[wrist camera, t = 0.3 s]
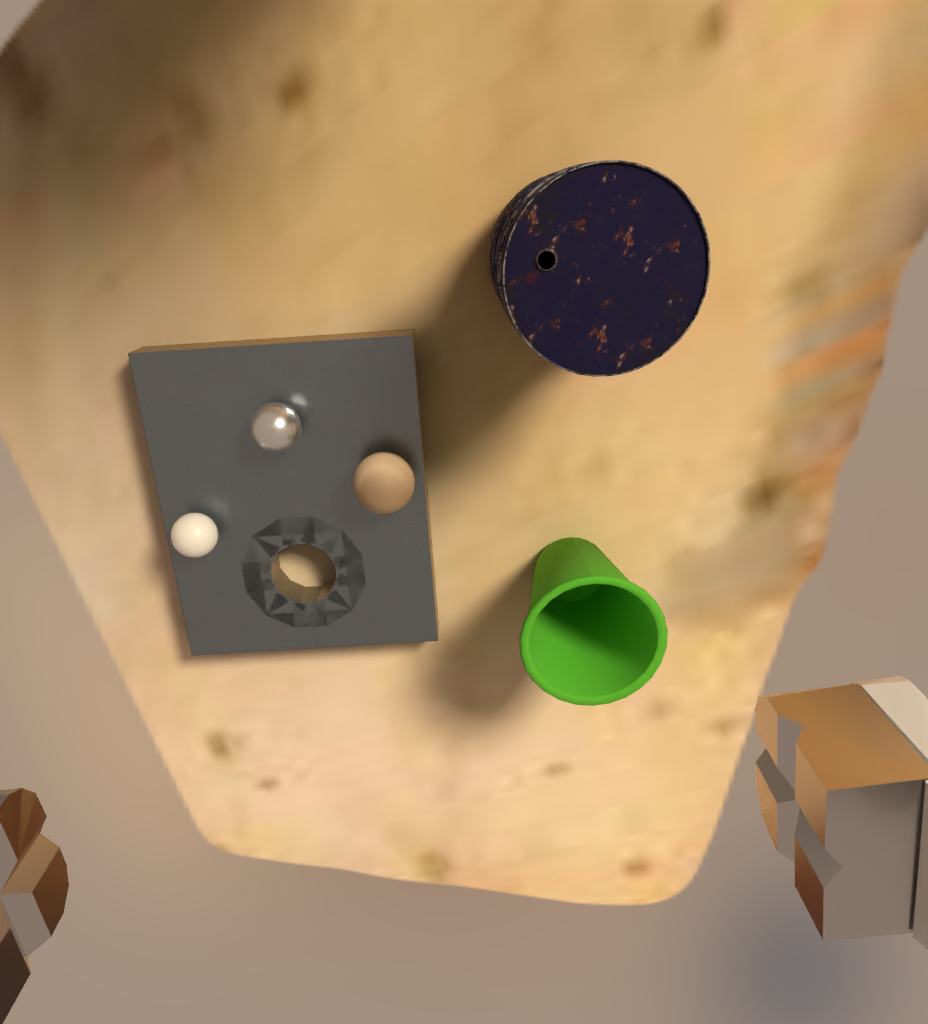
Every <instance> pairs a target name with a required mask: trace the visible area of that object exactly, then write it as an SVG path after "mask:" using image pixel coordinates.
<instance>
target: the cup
mask: <svg viewBox="0 0 928 1024" xmlns="http://www.w3.org/2000/svg"><path fill="white" fill-rule="evenodd" d="M667 632H668V631H667V627H666V622H665V618H664V615H663V613H662V611H661V609H660V608H659V606H658V604H657V602H656V601H655V600H654V599H653V598H652V597H651V596H650V595H649V594H648V593H647V592H646V591H645V590H644V589H642V588H640V587H639V586H637V585H635V584H634V583H632V582H630V581H629V580H628V579H627V578H626V577H625V576H624V575H623V574H622V573H621V572H620V571H619V570H618V568H617V567H616V566H615V565H614V564H613V563H612V562H611V561H610V560H609V559H608V558H607V557H606V556H605V555H604V554H603V553H602V552H601V550H600V549H599V548H598V547H597V546H596V545H594V544H593V543H591V542H589V541H588V540H584V539H581V538H572V537H571V538H564V539H560V540H558V541H555V542H553V543H552V544H550V545H549V546H547V547H546V548H545V549H544V550H543V551H542V552H541V554H540V556H539V557H538V559H537V562H536V566H535V571H534V578H533V585H532V592H531V599H530V606H529V613H528V615H527V617H526V619H525V620H524V623H523V627H522V630H521V634H520V654H521V658H522V661H523V664H524V668H525V669H526V671H527V672H528V674H529V675H530V677H531V679H532V680H533V681H534V682H535V683H536V684H537V685H538V686H539V687H540V688H541V689H542V690H544V691H545V692H546V693H548V694H550V695H552V696H554V697H556V698H557V699H559V700H562V701H565V702H569V703H572V704H576V705H591V706H593V705H600V704H608V703H612V702H614V701H617V700H620V699H623V698H626V697H627V696H629V695H631V694H632V693H634V692H635V691H637V690H639V689H640V688H641V687H642V686H643V685H644V684H645V683H646V682H648V681H649V680H650V679H651V678H652V676H653V675H654V673H655V672H656V670H657V669H658V667H659V666H660V664H661V662H662V659H663V656H664V653H665V650H666V647H667Z"/></svg>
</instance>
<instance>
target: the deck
mask: <svg viewBox="0 0 928 1024" xmlns="http://www.w3.org/2000/svg"><path fill="white" fill-rule="evenodd" d="M128 356H129V361H130V365H131V370H132V375H133V380H134V384H135V389H136V394H137V398H138V403H139V408H140V413H141V417H142V422H143V427H144V431H145V436H146V441H147V445H148V450H149V455H150V460H151V464H152V469H153V474H154V478H155V483H156V488H157V493H158V497H159V502H160V507H161V511H162V516H163V521H164V526H165V530H166V535H167V540H168V544H169V549H170V554H171V558H172V563H173V568H174V573H175V577H176V582H177V587H178V591H179V596H180V601H181V606H182V610H183V615H184V620H185V624H186V629H187V634H188V639H189V643H190V648H191V653H192V655H209V654H226V653H242V652H259V651H276V650H292V649H309V648H325V647H342V646H359V645H375V644H392V643H409V642H425V641H438V625H439V623H438V611H437V599H436V587H435V575H434V563H433V552H432V540H431V528H430V516H429V504H428V492H427V480H426V468H425V456H424V444H423V432H422V420H421V408H420V396H419V384H418V372H417V360H416V348H415V336H414V329H411V330H396V331H380V332H365V333H349V334H334V335H319V336H303V337H288V338H272V339H257V340H242V341H226V342H211V343H195V344H180V345H165V346H149V347H141V348H139V349H137V350H134V351H132V352H130V353H128ZM272 402H279V403H283V404H286V405H288V406H290V407H291V408H292V409H293V410H295V412H296V413H297V414H298V416H299V418H300V421H301V426H302V431H301V436H300V438H299V440H298V442H297V443H296V444H295V445H294V446H293V447H292V448H291V449H289V450H287V451H285V452H281V453H272V452H268V451H265V450H263V449H262V448H260V447H259V446H258V445H257V444H256V443H255V441H254V440H253V438H252V436H251V432H250V422H251V418H252V416H253V414H254V413H255V411H256V410H257V409H258V408H259V407H261V406H263V405H264V404H267V403H272ZM377 452H390V453H393V454H396V455H398V456H400V457H401V458H403V459H404V460H405V461H406V462H407V463H408V464H409V466H410V467H411V469H412V471H413V474H414V479H415V487H414V492H413V494H412V497H411V499H410V500H409V502H408V503H407V504H406V505H405V506H404V507H403V508H401V509H400V510H398V511H395V512H393V513H388V514H380V513H375V512H372V511H370V510H368V509H366V508H365V507H364V506H363V505H362V504H361V503H360V502H359V501H358V499H357V498H356V496H355V493H354V490H353V476H354V472H355V470H356V468H357V466H358V465H359V463H360V462H361V461H362V460H363V459H365V458H366V457H367V456H369V455H371V454H374V453H377ZM188 513H201V514H204V515H206V516H208V517H209V518H211V519H212V520H213V522H214V523H215V524H216V526H217V529H218V541H217V543H216V545H215V547H214V548H213V550H212V551H211V552H209V553H208V554H206V555H204V556H202V557H196V558H193V557H187V556H184V555H182V554H181V553H179V552H178V551H177V550H176V549H175V547H174V546H173V543H172V540H171V530H172V527H173V525H174V523H175V522H176V521H177V520H178V519H179V518H180V517H182V516H183V515H186V514H188ZM296 544H310V545H312V546H314V547H317V548H319V549H321V550H323V551H325V553H326V554H327V555H328V556H329V558H330V559H331V560H332V561H333V563H334V564H335V571H336V577H335V578H334V579H333V580H331V581H329V582H328V583H326V584H325V585H323V586H317V587H304V586H302V585H299V584H297V583H295V582H292V581H290V579H289V578H288V577H287V576H286V575H285V573H284V572H283V571H282V570H281V569H280V563H279V557H278V553H279V552H280V551H282V550H284V549H285V548H287V547H288V546H290V545H296Z"/></svg>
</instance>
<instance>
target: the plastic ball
mask: <svg viewBox="0 0 928 1024" xmlns="http://www.w3.org/2000/svg"><path fill="white" fill-rule="evenodd" d="M171 540H172V543H173V546H174V547H175V549H176V550H177V551H178V552H179V553H181V554H182V555H184V556H187V557H193V558H196V557H202V556H204V555H206V554H208V553H209V552H211V551H212V550H213V548H214V547H215V545H216V543H217V541H218V529H217V526H216V524H215V523H214V522H213V520H212V519H211V518H209V517H208V516H206V515H204V514H201V513H188V514H186V515H183V516H182V517H180V518H179V519H178V520H177V521H176V522H175V523H174V525H173V527H172V530H171Z"/></svg>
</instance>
